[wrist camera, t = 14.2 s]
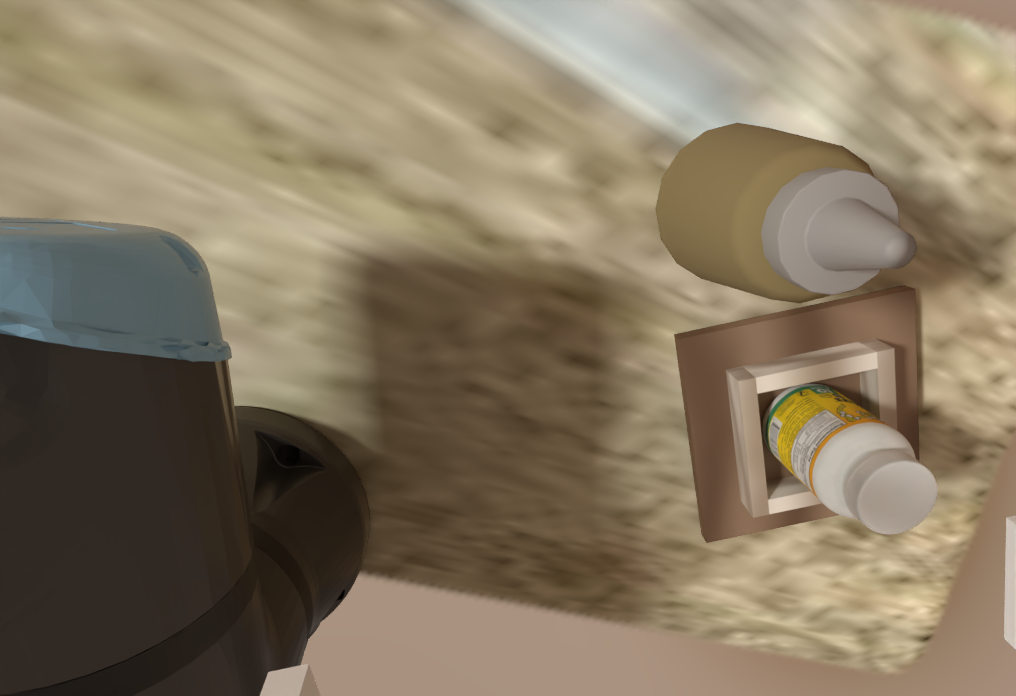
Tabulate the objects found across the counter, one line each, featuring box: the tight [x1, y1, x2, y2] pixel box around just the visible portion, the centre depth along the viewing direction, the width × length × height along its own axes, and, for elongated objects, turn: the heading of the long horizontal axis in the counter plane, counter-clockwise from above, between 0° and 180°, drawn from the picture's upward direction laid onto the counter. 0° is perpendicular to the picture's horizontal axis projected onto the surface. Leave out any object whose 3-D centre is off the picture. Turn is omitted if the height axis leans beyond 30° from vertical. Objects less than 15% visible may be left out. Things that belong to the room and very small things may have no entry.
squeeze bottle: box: [656, 123, 916, 303], centre depth 31 cm, size 8×8×18 cm
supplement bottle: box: [762, 383, 937, 534], centre depth 38 cm, size 5×5×10 cm
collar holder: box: [674, 286, 919, 543], centre depth 42 cm, size 14×14×3 cm
